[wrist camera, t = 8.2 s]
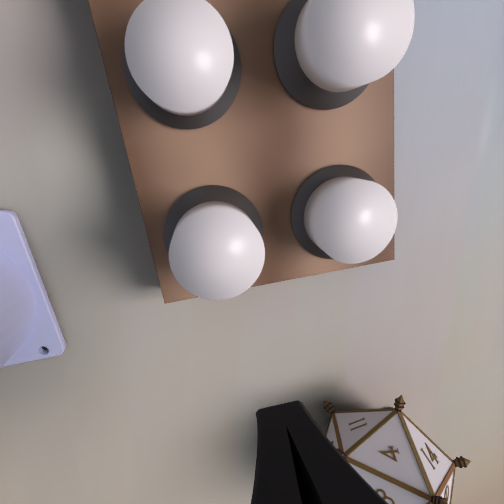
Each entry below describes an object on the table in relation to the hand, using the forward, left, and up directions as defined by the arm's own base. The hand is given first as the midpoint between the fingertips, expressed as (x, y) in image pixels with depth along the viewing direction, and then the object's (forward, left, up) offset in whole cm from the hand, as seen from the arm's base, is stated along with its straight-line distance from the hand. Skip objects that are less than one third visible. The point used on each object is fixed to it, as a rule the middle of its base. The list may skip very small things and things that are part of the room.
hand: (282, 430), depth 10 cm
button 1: (-1, +11, -7) cm, 13 cm away
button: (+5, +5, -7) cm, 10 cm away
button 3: (+5, +12, -6) cm, 14 cm away
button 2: (-1, +5, -6) cm, 7 cm away
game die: (+6, -11, -10) cm, 16 cm away
